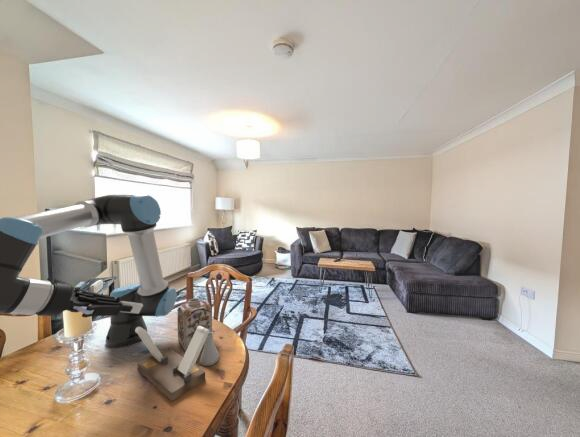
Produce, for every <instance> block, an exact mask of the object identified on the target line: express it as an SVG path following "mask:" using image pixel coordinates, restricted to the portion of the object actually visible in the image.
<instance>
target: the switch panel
mask: <svg viewBox="0 0 580 437" xmlns="http://www.w3.org/2000/svg"><path fill="white" fill-rule="evenodd" d="M160 353H161V354H162V356H163V358H161V361H160V362H159V361H158V360H157V359H155V358H154V357H153V356H152V355H151V356H149V357H147V358H144V359H142V360H140V361H137V370H138V371H139V372H140V373H141V375H143V376H144V377H145V378H146V379H147V380H148V381H149V382H150V383H152V384H153V385H154V386H155V388H157V389H158V390H159V391H160V393H162V394H163V395H164V396H166V397H167V399H168V400H170V401H171V402H173V401H175V400H176V399H178V398H180V397H182V396H183V395H184V394H186V393H187V392H189V391H191V389H193V388H194V387H196V386H197V385H199V384H201V383H202V382H204V381H205V380H206V371H205V370H203V369H202V368H200V367H199V366H197V365H196V364H195V365H194V367H193V369H192V372H191V373H188V374H186V375H184V374H183V373H182V372H180V371H179V370H178V367H179V365H180V363H181V361H182V359H183V357H184V356H182V355H181V354H179V353H178V352H176V351H175V350H173V349H172V348H170V347H167V348H165V349H164V350H161V351H160Z"/></svg>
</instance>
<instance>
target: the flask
mask: <svg viewBox="0 0 580 437" xmlns="http://www.w3.org/2000/svg"><path fill="white" fill-rule="evenodd" d="M202 349H203V350H202V352H201V355H200V358H199V361H198V364H199V365H201V366H203V367H206V366H207V367H208V366H214V365H215V364H216V363H218V361H219V359H220V357H221V356H220V354H219V351H218V349H217V346H216V344H215V341H214V331H212V332H209V334H208V336H207V338H206V340H205V344H204V345H203V348H202Z"/></svg>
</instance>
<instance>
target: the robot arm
mask: <svg viewBox="0 0 580 437" xmlns="http://www.w3.org/2000/svg"><path fill="white" fill-rule="evenodd" d="M161 213H162V212H161V207H160V204H159V203H158V201H157V200H156V199H155V198H154V197H153V196H151V195H149V194H141V193H140V194H139V193H132V194H131V193H130V194H128V193H127V194H126V193H125V194H108V195H102V196H97V197H93V198H89V199H85V200H79V201H77V202H76V203H74V204H73V205H71V206H65V207H64V206H63V207H60V208H54V209H49V210H44V211H39V212H34V213H33V212H32V213H28V214H23V215H18V216H15V217H14V216H13V217H11V216H10V217H9V216H6V217H5V216H4V217H1V218H0V314H9V315H10V314H11V316H14V317H15V316H17V315H28V316H33V315H37V316H42V317H57V316H59V315H60V314H62V313H63V312H65V311H69V312H71V313H79V312H81V313H82V314H81V317H83V318H88V317H89V318H90V317H103V316H106V317H107V316H109V317H110V326H109V329H108V331H107V335H106V337H105V346H106V347H108V348H120V347H121V348H122V347H126V346H130V345H133V344H135V343H138V342H139V341H142V340H141V338H140V337H139V335H138V334H137V333H136V332H135V329H136V328H137V327H142V328H143V329H145V330H146V331H147V332H148V327H147V324H146V322H145V320H144V318H143V317H155V318H156V317H165V316H168V315H169V314H170V313H171V312H172V310H173V309H174V306H175V304H176V300H177V290H176V289H175V288H174V287H170V285H169V282H168V281H167V280H166V279H164V276H163V272H162V270H163V269H162V266H161V262H160V257H159V252H158V247H157V242H156V237H155V233H154V229H155V228H156V227H157V223H158V222H159V221H160V219H161V215H162V214H161ZM98 225H99V226H100V225H120V226H121V231H122V232H123V233H124V234H126V235H128V239H129V244H130V248H131V252H132V256H133V261H134V264H135V268H136V272H137V277H138V281H139V283H133V284H128V285H124V286H121V287H118V288H115V289H113V290H112V291H111V292H110V294H109V295H107V294H106V295H105V294H102V293H95V292H91V291H87V290H83V289H79V288H75V289H74V288H73V286H72V285H71V284H67V283H62V282H53V283H52V282H51V281H50V280H43V279H36V278H29V277H21V276H20V274H21V272H22V271H23V268H24V267H25V265H26V263H27V262H28V260H29V258H30V256H31V255H32V254H33V251H34V250H35V248H36V246H37V245H38V244H39V241H40V239H44V238H47V237H50V236H53V235H57V234H60V233H64V232H67V231H71V230H74V229H77V228H78V229H79V228H82V227H87V228H90V227H95V226H98Z"/></svg>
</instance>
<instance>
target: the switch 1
mask: <svg viewBox="0 0 580 437" xmlns="http://www.w3.org/2000/svg"><path fill="white" fill-rule="evenodd" d="M135 332H136V333H137V334H138V335H139V337H140V338H141V340H140V341H142V342H143V344H144V345H145V347H146V348H147V349H148V351H149V353H150V354H151V356H153V357H154V358H155V359H157V360H158V361H159V362H160V361H161V358H163V356H162V354H161V353H160V352H161V351H160V349H159V348H158V346H157V345H156V343H155V342H154V340H153V339H152V337H151V336H150V335H149V333H148V330H147V331H146V330H145V329H143V328H142V327H137V328H136V329H135Z"/></svg>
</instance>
